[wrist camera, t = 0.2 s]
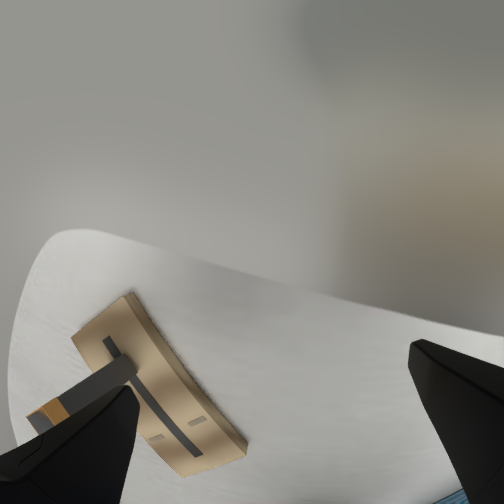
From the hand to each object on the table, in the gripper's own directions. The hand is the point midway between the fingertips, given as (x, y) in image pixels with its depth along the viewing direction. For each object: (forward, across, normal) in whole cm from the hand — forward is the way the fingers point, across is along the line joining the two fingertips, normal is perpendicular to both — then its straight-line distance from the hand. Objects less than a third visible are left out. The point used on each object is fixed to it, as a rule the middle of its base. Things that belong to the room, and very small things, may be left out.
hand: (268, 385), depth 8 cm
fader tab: (+12, +14, +7) cm, 19 cm away
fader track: (+13, +12, +11) cm, 21 cm away
